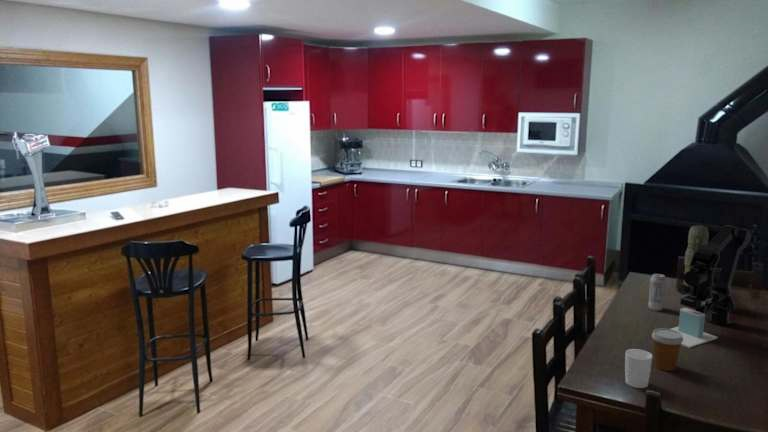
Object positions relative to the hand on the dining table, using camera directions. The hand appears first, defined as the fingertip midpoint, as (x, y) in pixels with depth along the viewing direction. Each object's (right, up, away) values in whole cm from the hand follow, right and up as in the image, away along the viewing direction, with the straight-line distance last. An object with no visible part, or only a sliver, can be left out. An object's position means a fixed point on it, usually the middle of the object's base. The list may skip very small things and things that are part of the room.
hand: (700, 320), depth 221 cm
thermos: (+14, +1, +32) cm, 35 cm away
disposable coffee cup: (-27, -11, -27) cm, 40 cm away
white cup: (-41, -13, -38) cm, 58 cm away
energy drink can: (-5, 0, +27) cm, 27 cm away
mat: (-7, -6, -3) cm, 9 cm away
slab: (-5, -5, -2) cm, 7 cm away
